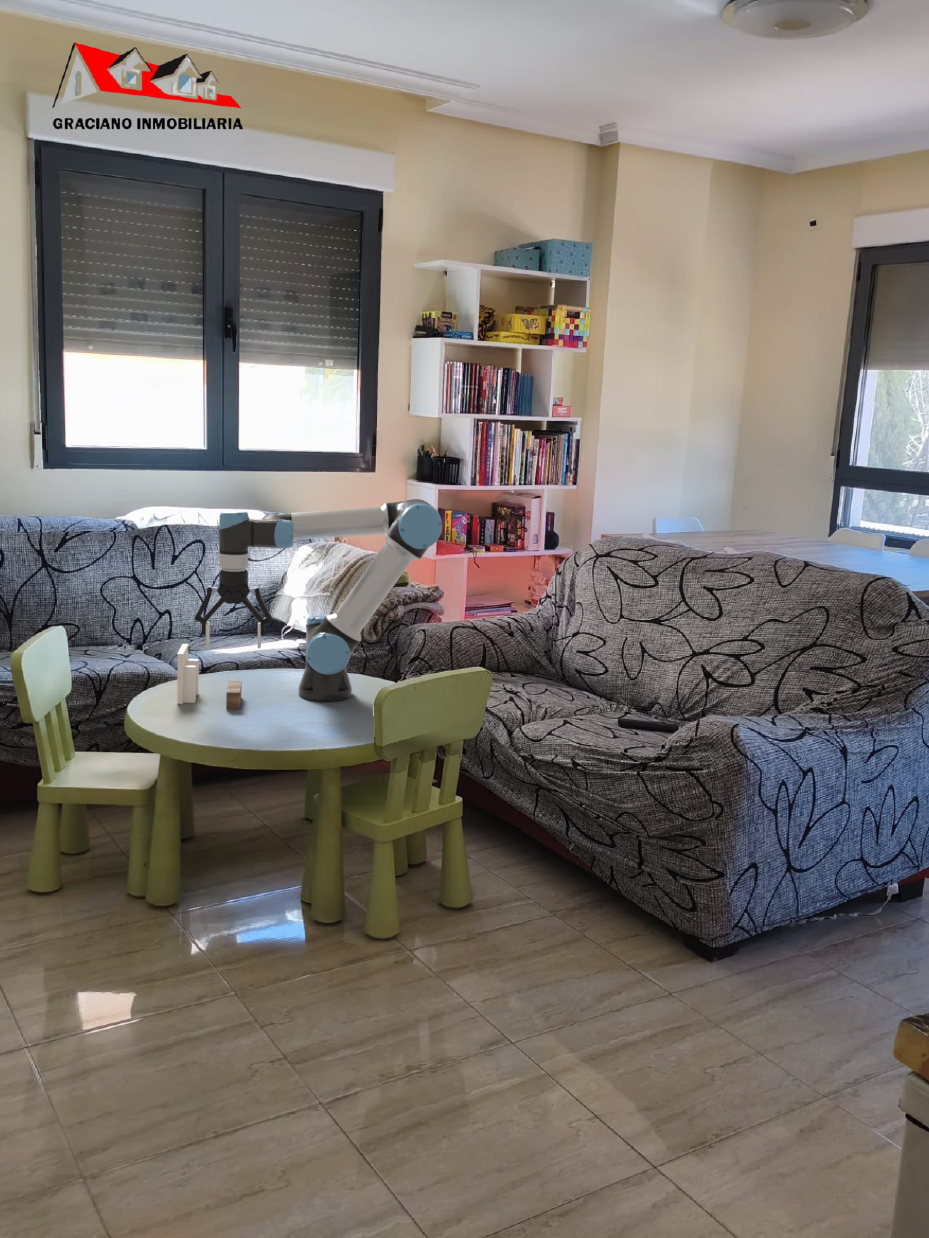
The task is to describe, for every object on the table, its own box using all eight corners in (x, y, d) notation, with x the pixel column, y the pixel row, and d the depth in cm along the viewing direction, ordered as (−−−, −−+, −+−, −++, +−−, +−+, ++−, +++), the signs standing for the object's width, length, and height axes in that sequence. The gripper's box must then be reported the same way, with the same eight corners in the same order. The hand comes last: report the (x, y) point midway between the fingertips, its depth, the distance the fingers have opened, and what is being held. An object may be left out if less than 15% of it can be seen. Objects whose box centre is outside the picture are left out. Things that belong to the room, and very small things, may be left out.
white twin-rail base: (198, 692, 309) (199, 644, 306) (194, 704, 297) (194, 654, 294) (182, 692, 308) (182, 643, 305) (177, 703, 296) (177, 653, 294)
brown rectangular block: (228, 698, 305) (228, 680, 304) (241, 698, 306) (241, 681, 305) (226, 710, 293) (226, 692, 292) (239, 710, 294) (239, 692, 293)
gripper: (281, 567, 295) (280, 644, 299) (187, 565, 291) (187, 643, 296) (280, 572, 288) (280, 650, 292) (183, 570, 284) (184, 649, 288)
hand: (233, 647), depth 294 cm, fingers open, 13 cm apart
